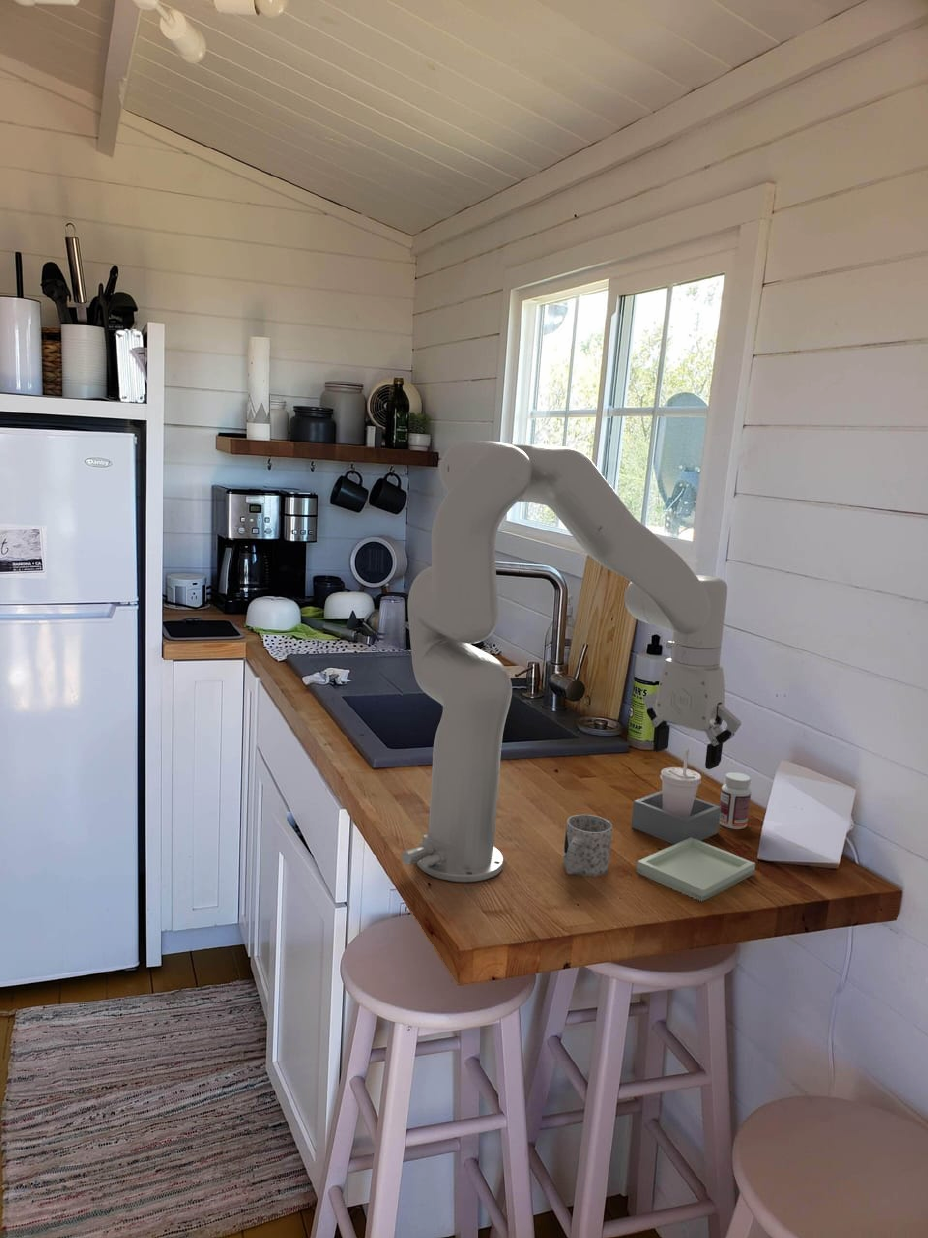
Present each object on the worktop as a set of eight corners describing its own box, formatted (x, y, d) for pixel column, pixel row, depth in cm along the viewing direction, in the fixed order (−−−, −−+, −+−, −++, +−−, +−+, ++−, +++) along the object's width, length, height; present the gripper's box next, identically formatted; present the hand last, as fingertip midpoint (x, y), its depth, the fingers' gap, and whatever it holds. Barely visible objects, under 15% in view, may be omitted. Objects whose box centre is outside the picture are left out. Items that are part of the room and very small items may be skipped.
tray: (701, 902, 132) (703, 890, 132) (636, 872, 140) (637, 861, 139) (753, 874, 142) (755, 863, 141) (689, 848, 149) (691, 837, 149)
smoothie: (684, 842, 152) (694, 757, 149) (647, 829, 155) (656, 747, 153) (701, 830, 157) (711, 748, 154) (665, 818, 160) (674, 738, 158)
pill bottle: (749, 822, 161) (755, 775, 160) (744, 832, 157) (750, 783, 155) (720, 816, 163) (726, 769, 162) (715, 825, 159) (721, 777, 157)
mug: (573, 852, 145) (577, 810, 144) (615, 864, 142) (619, 822, 141) (545, 876, 137) (549, 832, 135) (588, 890, 134) (592, 845, 132)
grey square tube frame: (683, 848, 149) (686, 821, 148) (631, 826, 156) (633, 800, 155) (717, 833, 156) (721, 807, 155) (666, 812, 163) (669, 787, 162)
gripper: (636, 646, 154) (627, 748, 157) (732, 670, 142) (720, 779, 145) (663, 640, 159) (654, 739, 162) (758, 663, 147) (746, 768, 150)
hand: (685, 758), depth 154 cm, fingers open, 9 cm apart
